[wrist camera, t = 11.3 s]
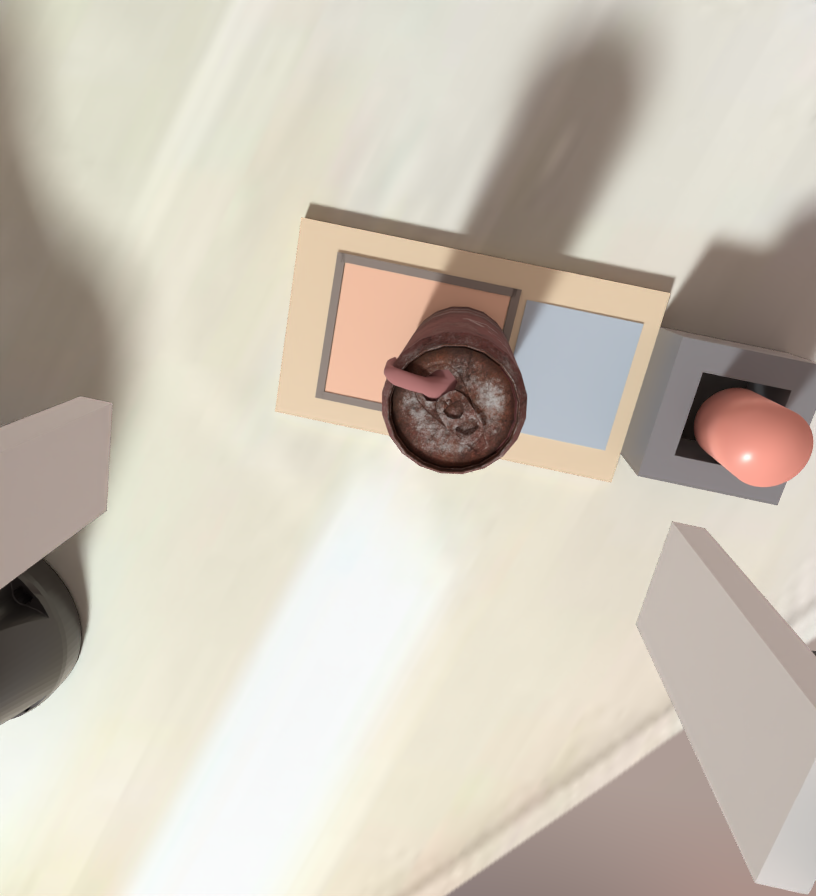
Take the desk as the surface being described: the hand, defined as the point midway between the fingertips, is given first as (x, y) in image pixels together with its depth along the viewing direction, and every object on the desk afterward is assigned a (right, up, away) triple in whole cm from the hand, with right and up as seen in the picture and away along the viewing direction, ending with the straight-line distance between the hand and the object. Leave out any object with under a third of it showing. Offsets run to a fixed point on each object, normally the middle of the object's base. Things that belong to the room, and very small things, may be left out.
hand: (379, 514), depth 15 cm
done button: (+18, +3, +20) cm, 27 cm away
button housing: (+19, +4, +25) cm, 32 cm away
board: (+4, +7, +25) cm, 27 cm away
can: (+4, +7, +25) cm, 26 cm away
